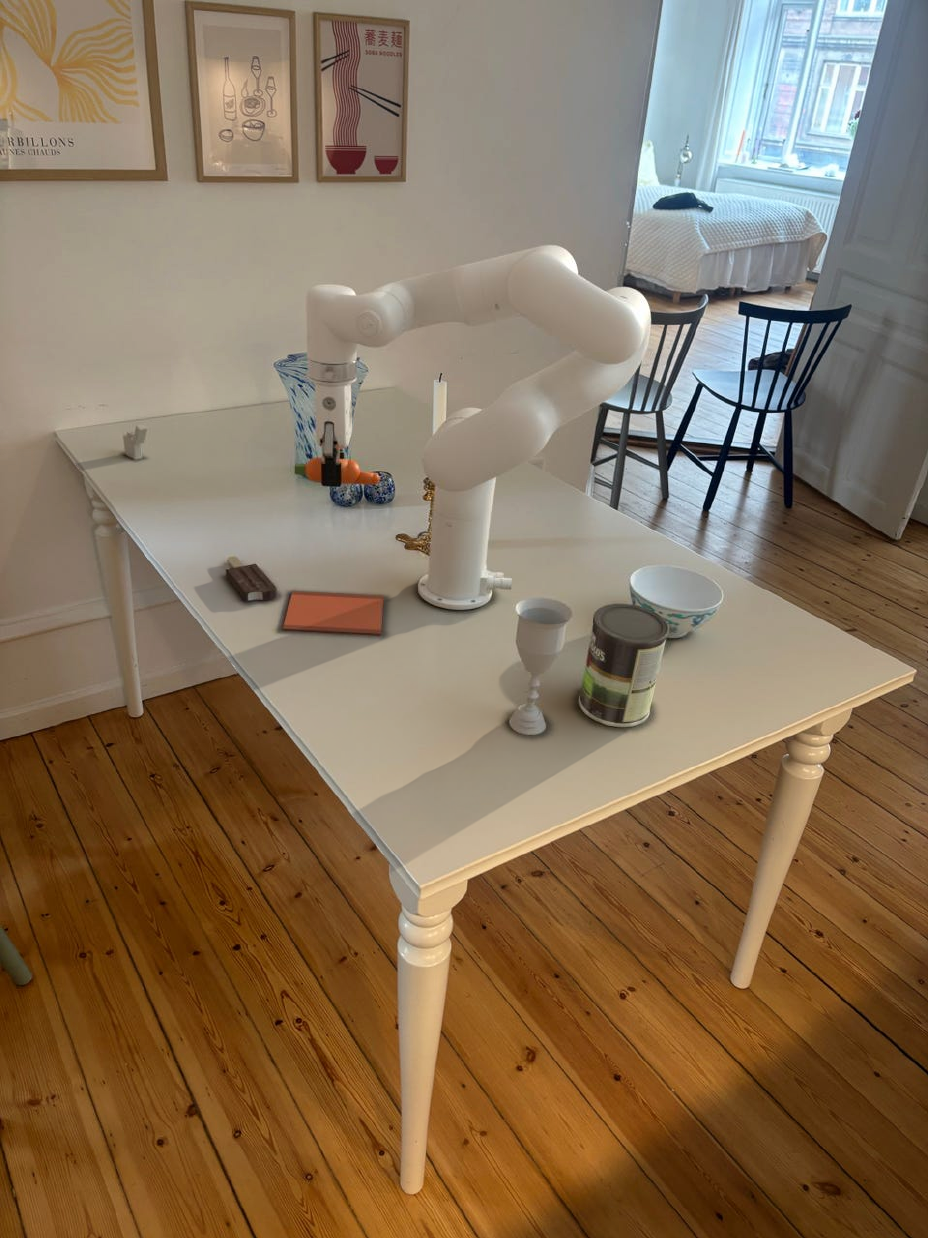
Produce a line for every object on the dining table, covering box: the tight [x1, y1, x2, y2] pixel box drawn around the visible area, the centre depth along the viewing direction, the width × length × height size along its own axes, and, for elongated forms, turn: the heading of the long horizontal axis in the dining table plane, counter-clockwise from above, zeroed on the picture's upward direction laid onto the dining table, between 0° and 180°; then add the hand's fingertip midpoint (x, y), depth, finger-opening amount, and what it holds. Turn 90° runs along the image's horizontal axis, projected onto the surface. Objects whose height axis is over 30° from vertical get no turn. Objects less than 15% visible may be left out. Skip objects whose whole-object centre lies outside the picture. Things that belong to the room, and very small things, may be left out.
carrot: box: [294, 457, 381, 486], centre depth 152 cm, size 14×4×4 cm, turn 91°
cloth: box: [282, 590, 384, 636], centre depth 149 cm, size 15×12×1 cm
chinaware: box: [629, 564, 724, 639], centre depth 152 cm, size 15×15×8 cm
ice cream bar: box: [225, 555, 277, 602], centre depth 155 cm, size 5×2×15 cm
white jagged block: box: [122, 423, 148, 461], centre depth 195 cm, size 7×2×8 cm, turn 48°
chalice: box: [508, 597, 573, 736], centre depth 123 cm, size 7×7×18 cm
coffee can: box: [578, 603, 669, 728], centre depth 129 cm, size 10×10×14 cm
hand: (332, 479), depth 153 cm, fingers closed on carrot, 4 cm apart
